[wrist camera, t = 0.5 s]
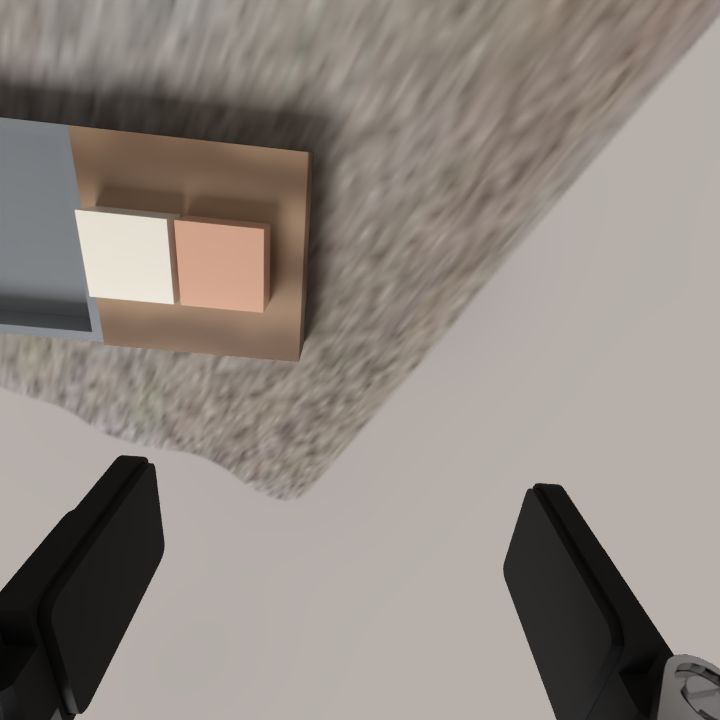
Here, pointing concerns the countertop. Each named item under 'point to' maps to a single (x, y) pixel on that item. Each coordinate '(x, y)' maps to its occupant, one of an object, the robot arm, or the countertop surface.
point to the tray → (42, 236)
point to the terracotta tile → (223, 263)
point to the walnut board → (213, 200)
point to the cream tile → (129, 254)
